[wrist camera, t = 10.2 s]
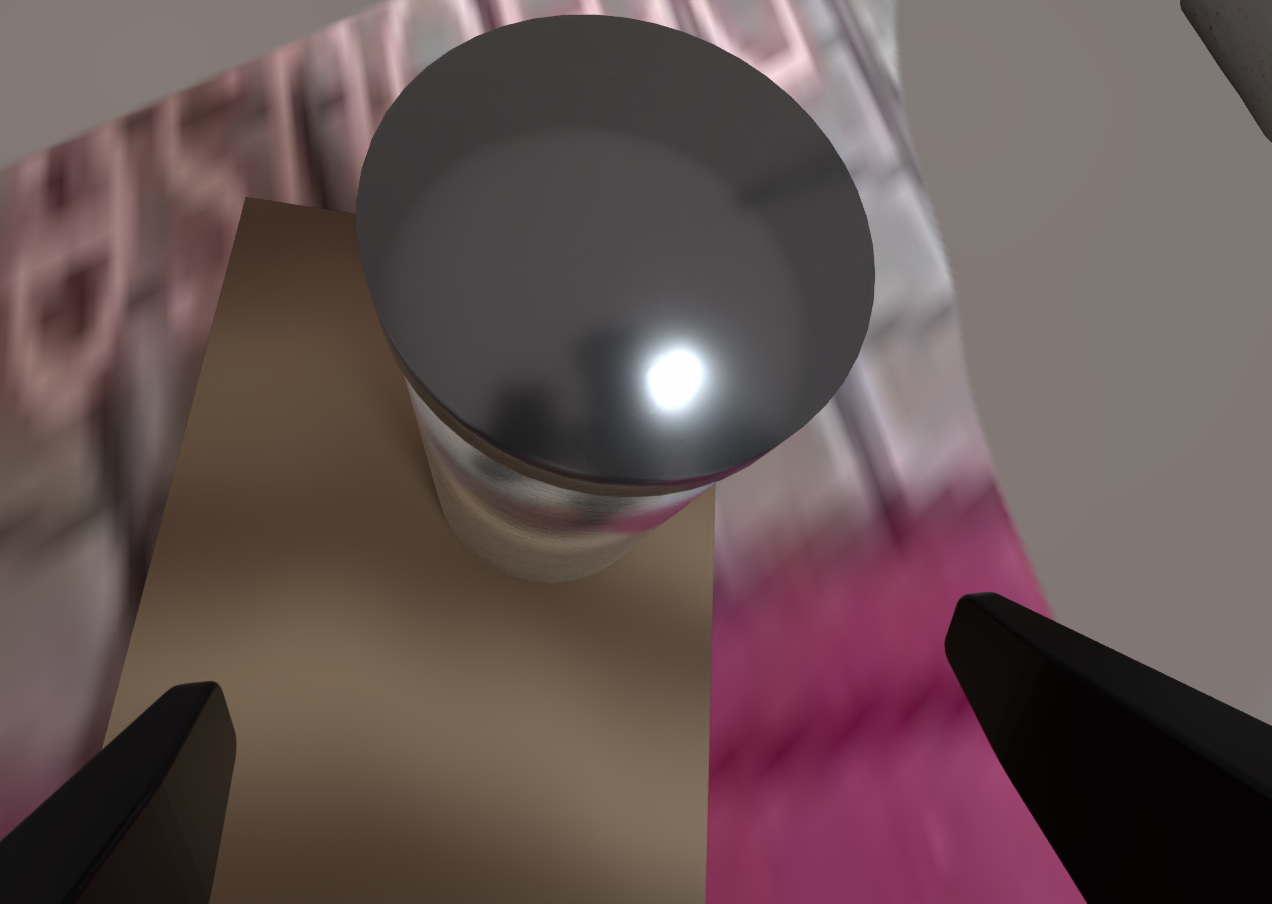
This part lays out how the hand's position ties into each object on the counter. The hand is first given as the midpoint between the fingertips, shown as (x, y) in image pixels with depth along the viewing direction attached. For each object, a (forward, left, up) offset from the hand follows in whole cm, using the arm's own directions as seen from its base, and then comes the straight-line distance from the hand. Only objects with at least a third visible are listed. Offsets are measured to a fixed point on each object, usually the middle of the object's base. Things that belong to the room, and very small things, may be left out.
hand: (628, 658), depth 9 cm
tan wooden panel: (+1, +3, -8) cm, 9 cm away
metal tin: (+4, +1, -7) cm, 9 cm away
